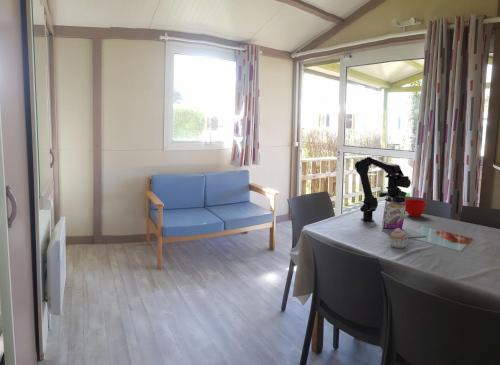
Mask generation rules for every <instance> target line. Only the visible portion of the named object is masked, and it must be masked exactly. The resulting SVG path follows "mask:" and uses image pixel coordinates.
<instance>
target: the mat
mask: <svg viewBox="0 0 500 365" xmlns="http://www.w3.org/2000/svg"><path fill="white" fill-rule="evenodd" d="M394 230H395V229H381V232H383V233H385V234H387V235H389V236H391V233H392V232H393V231H394ZM401 231H403V232H404V233H405V234H406V235H407V237H406V238H408V239H414V238H413V237H417V238H427V235H425V234H422V233H421V232H418V231H416V230H414V229H412V228H409V227H408V228H407V227H406V228H402V229H401Z"/></svg>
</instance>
